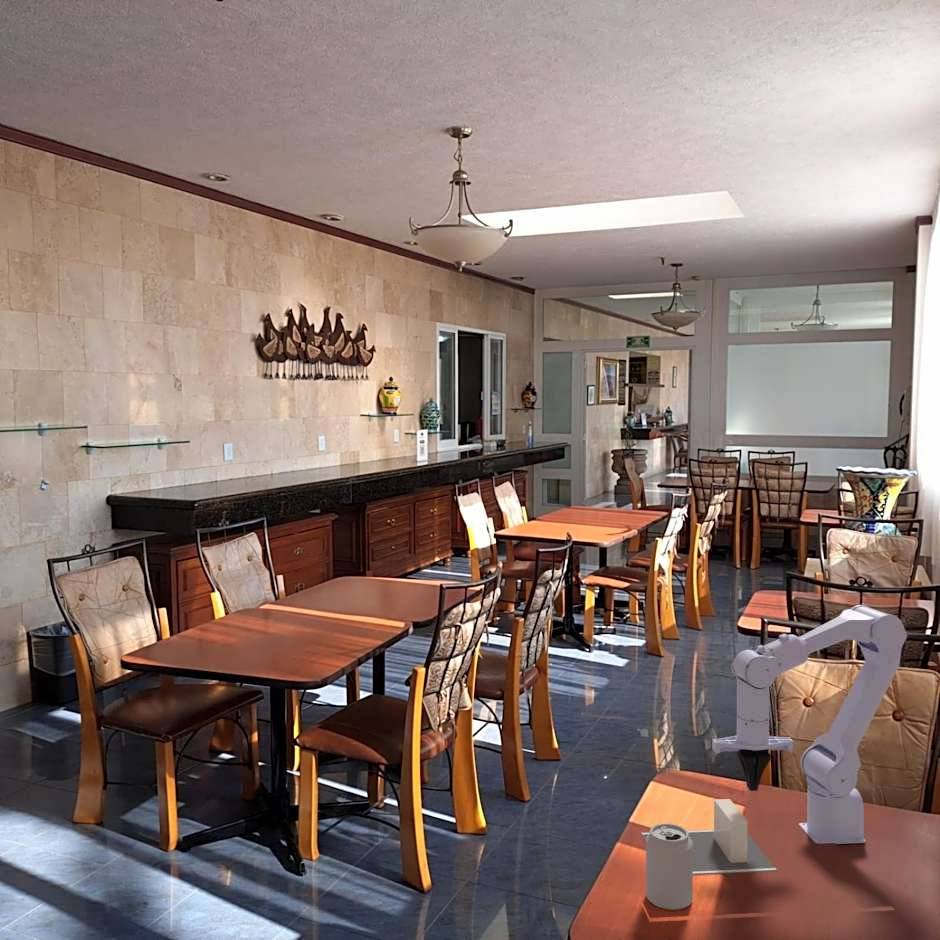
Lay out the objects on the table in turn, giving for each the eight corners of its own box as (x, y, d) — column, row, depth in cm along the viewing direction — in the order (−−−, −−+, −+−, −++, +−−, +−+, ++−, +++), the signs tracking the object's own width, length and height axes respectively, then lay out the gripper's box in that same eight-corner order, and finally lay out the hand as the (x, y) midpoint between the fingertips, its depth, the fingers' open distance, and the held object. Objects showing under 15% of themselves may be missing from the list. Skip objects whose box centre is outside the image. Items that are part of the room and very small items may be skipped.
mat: (743, 830, 171) (743, 827, 171) (777, 873, 155) (777, 870, 155) (640, 835, 170) (640, 832, 169) (663, 879, 154) (663, 875, 154)
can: (666, 919, 142) (666, 846, 141) (636, 896, 148) (636, 826, 147) (702, 906, 145) (702, 835, 144) (672, 885, 152) (672, 816, 151)
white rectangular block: (730, 837, 167) (730, 798, 166) (747, 862, 158) (747, 820, 157) (713, 838, 167) (714, 799, 166) (730, 862, 158) (730, 821, 157)
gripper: (783, 708, 169) (782, 778, 169) (707, 710, 168) (706, 780, 169) (798, 721, 161) (797, 794, 162) (719, 723, 161) (718, 796, 162)
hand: (752, 788), depth 165 cm, fingers closed
